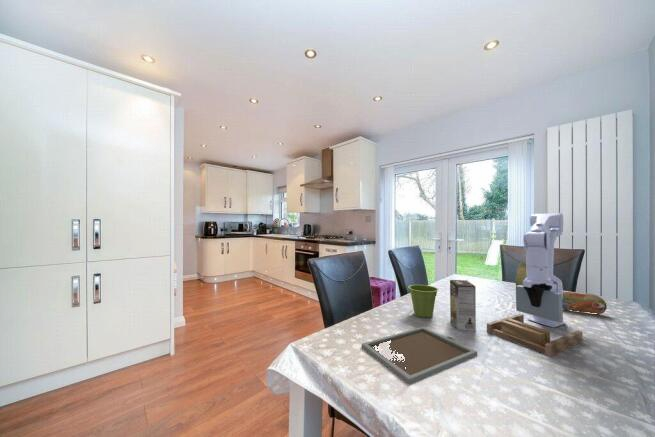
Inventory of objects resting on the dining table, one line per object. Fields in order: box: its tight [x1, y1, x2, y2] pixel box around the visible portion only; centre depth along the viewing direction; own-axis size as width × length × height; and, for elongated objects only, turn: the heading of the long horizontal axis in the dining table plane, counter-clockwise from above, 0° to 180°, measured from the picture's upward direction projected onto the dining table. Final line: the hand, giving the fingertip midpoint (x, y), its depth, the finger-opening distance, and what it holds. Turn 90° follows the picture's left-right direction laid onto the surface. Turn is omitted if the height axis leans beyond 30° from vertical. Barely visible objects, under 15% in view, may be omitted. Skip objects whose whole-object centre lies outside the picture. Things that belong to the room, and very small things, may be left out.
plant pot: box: [407, 284, 439, 318], centre depth 99 cm, size 12×12×11 cm
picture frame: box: [361, 326, 478, 385], centre depth 71 cm, size 19×2×30 cm
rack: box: [486, 313, 584, 357], centre depth 80 cm, size 22×17×3 cm
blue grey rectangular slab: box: [515, 285, 564, 323], centre depth 82 cm, size 2×12×9 cm, turn 26°
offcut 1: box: [501, 321, 545, 347], centre depth 77 cm, size 2×11×4 cm, turn 26°
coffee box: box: [449, 279, 477, 332], centre depth 89 cm, size 9×6×16 cm
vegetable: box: [515, 261, 527, 287], centre depth 115 cm, size 6×6×20 cm
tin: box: [562, 291, 608, 315], centre depth 103 cm, size 15×3×8 cm, turn 58°
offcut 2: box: [507, 319, 551, 344], centre depth 79 cm, size 2×11×4 cm, turn 25°
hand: (537, 305), depth 82 cm, fingers closed on blue grey rectangular slab, 2 cm apart
